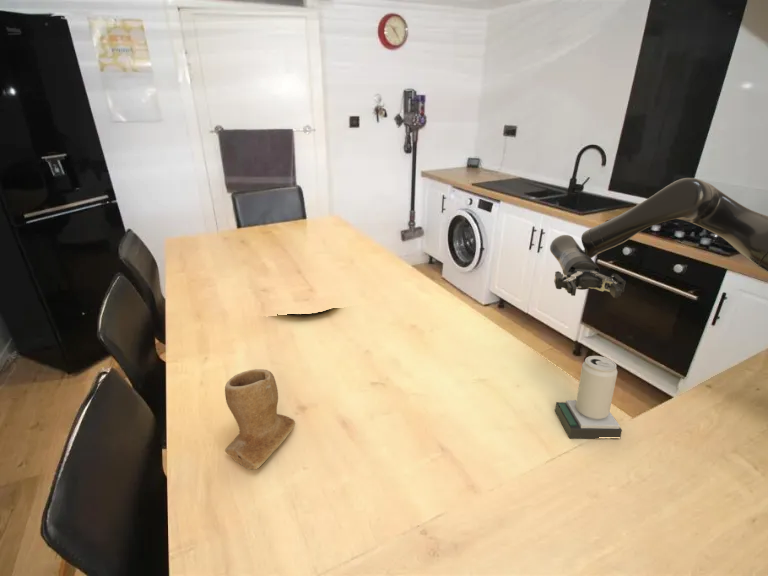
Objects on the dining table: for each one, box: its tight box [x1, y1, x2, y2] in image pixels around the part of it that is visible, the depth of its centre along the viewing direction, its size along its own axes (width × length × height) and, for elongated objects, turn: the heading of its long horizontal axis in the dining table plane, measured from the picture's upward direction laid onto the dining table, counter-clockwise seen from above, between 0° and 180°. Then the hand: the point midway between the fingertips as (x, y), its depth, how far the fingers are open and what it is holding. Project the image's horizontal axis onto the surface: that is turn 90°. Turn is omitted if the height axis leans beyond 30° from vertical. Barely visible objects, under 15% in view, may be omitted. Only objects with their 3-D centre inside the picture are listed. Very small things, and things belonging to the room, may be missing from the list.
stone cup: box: [224, 368, 296, 470], centre depth 82 cm, size 15×12×15 cm
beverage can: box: [575, 355, 619, 419], centre depth 84 cm, size 6×6×12 cm
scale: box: [554, 399, 623, 440], centre depth 87 cm, size 10×9×3 cm
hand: (595, 292), depth 88 cm, fingers open, 8 cm apart
